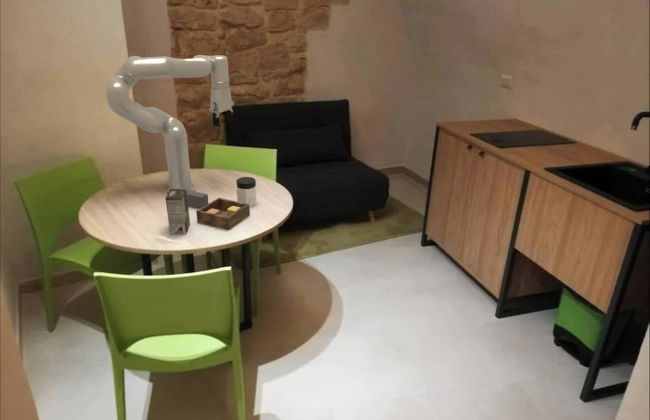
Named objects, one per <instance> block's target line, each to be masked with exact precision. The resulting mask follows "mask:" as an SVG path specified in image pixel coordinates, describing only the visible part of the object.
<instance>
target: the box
mask: <svg viewBox="0 0 650 420" xmlns="http://www.w3.org/2000/svg"><path fill="white" fill-rule="evenodd" d="M231 206H236V207H240V209H239V210H237V211H236V212H234V213H232V214H231V215H229V216H228V217H227V209H228V208H230V207H231ZM211 208H212V209H217V210H220V215H217V214H213V213H208V212H206V211H208V210H210V209H211ZM250 209H251V208H250V207H249V204H246V203H241V202H237V201H236V200H233V199H232V200H231V199H226V198H224V197H223V198H222V197H217V198H216V199H214V200H212V201H211V202H208V204H207V205H205V206H204V207H202V208H200V209H197V210H196V221H197V222H196V223H199V224H202V225H205V226H206V225H207V226H211V227H215V228H218V229H223V230H226V231H230V230H231V229H232V228H234V227H236V226H238V224H240V223H241V222H243V221H244V220H245V219H247V218H248V217H249V216H251V214H250V213H251V211H250Z"/></svg>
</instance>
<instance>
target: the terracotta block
mask: <svg viewBox="0 0 650 420" xmlns="http://www.w3.org/2000/svg"><path fill="white" fill-rule="evenodd" d="M206 212H208V213H213V214H217V215H220V210H217V209H212V208H211V209H210V210H208V211H206Z"/></svg>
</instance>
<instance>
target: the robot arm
mask: <svg viewBox="0 0 650 420" xmlns="http://www.w3.org/2000/svg"><path fill="white" fill-rule="evenodd" d="M208 75H210V79H211V80H210V81H211V82H210V83H211V90H210V102H209V103H210V107H209V108H208V112H209V113H210V114H209V115H210V116H211V118H212V125H213V127H221V123H220V122H221V121H220V117H219V116H220V113H223V112H225V120H226V122H231V123H232V122H233V121H234V119H233V113H234V110H233V109H234V105H235V101H233V100H232V93H231V89H230V76H229V61H228V57H227V56H226V55H222V54H221V55H219V54H215V55H203V54H197V55H195V56H193V57H192V58H174V57H170V56H165V55H163V56H151V57H150V56H149V57H141V56H139V55H131V56H130V57H128V58H127V59H126V60H125V62H124V63H122V65H121V66H120V67H119V68H118V69H117V71H115V72H114V73H113V74H112V76H110V78H109V80H108V81H107V85H106V93H105V95H106V101H107V105H109V107H110V109H111V111H112V112H114V114H116V115H117V116H118V117H121V118H123V119H125V120H126V121H128V122H130V123H132V124H133V125H135V126H137V127H139V128H141V129H143V130H145V132H148V133H151V134H156V133H159V134H160V135H162V136H163V140H164V146H165V156H166V162H167V171H168V178H166V179H165V181H164V183H163V184H164V185H166V186H168V187H167V190H166V192H167V193H168V192H169V190H170V189H186V191H187V190H190V191H195V192H196V186H195V185H193V184H192V175H191V174H192V173H191V167H190V166H191V165H190V158H189V156H190V155H189V147H188V146H189V145H188V133H187V131H186V128H185V126H184V124H183V123H182V121H180V120H179V119H178V118H175V117H174V116H172V115H170V114H169V113H167V112H164V111H163V110H161V109H159V108H157V107H155V106H147V107H146V106H144V105H142V104H140V103H138V102H136V101H134V100H132V99H131V98H130V96H129V94H130V90H131V89H132V88H133V86H134V85H135V84H136V83H138V81H139V80H149V79H150V80H151V79H152V80H153V79H165V78H168V79H176V78H177V79H180V78H181V79H182V78H183V79H190V78H204V77H206V76H208Z"/></svg>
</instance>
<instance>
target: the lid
mask: <svg viewBox="0 0 650 420" xmlns="http://www.w3.org/2000/svg"><path fill="white" fill-rule="evenodd" d="M186 192H187V200H188V208H194V209H197V210H199V209H200V208H202V207H204V206H205V205H207V204H209V197H208V196H209V195H208V193H204V192H199V191H196V190H195V191H190V190H187V191H186Z"/></svg>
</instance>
